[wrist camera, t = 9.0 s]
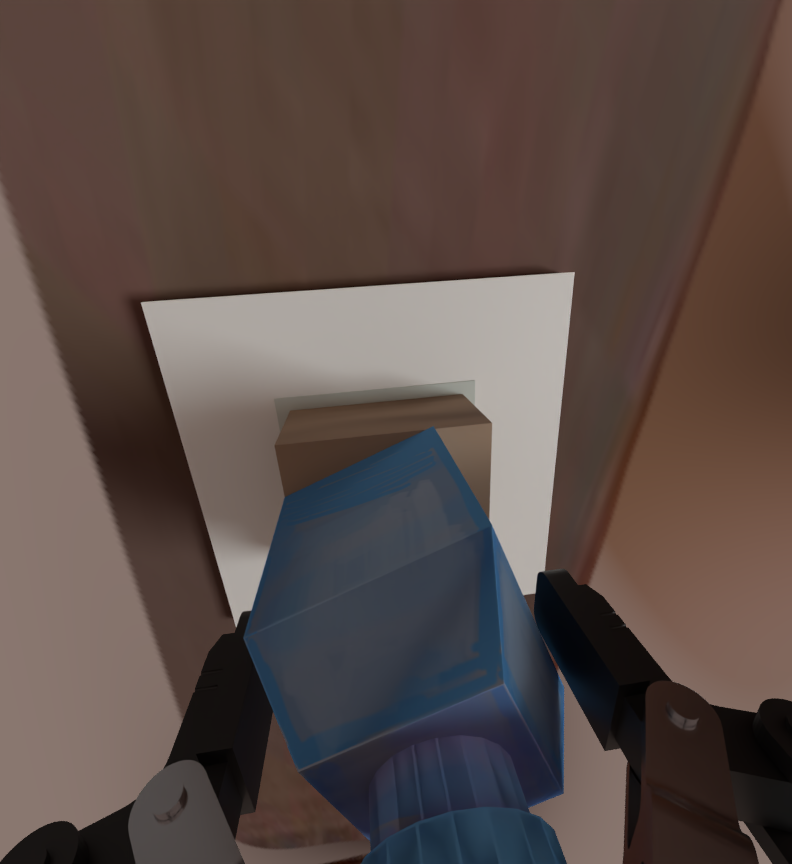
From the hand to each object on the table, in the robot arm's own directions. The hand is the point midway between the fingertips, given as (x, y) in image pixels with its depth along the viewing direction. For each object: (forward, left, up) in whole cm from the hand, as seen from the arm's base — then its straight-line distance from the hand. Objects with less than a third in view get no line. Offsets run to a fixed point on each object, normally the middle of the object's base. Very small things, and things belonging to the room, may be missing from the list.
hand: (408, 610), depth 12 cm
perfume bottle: (0, 0, -4) cm, 5 cm away
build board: (0, 0, -10) cm, 10 cm away
